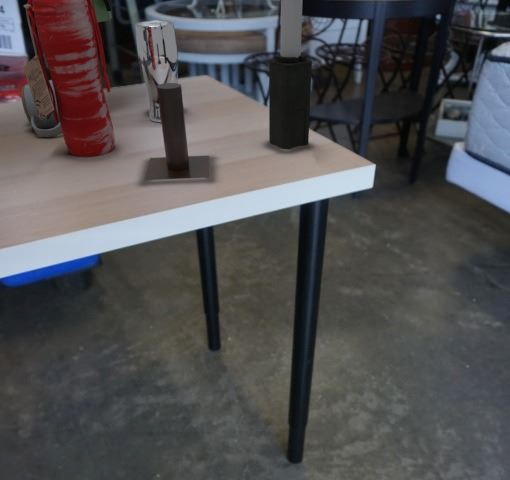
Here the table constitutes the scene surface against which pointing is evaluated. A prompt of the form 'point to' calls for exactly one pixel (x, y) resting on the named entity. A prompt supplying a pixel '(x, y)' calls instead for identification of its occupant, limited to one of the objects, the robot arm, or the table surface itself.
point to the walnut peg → (175, 141)
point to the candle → (290, 83)
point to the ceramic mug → (34, 118)
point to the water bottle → (70, 73)
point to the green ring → (101, 11)
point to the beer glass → (157, 58)
